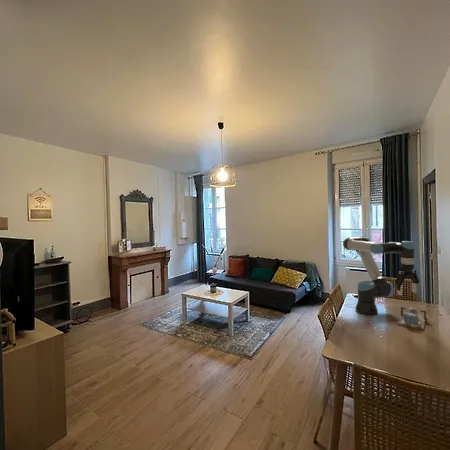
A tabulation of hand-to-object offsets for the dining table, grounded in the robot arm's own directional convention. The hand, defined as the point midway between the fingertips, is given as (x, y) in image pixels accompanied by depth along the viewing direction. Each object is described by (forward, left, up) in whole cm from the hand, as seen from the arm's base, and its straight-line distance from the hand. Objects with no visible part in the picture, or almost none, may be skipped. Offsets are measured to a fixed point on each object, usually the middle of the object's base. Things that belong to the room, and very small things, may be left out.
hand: (406, 293), depth 175 cm
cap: (+3, -4, -18) cm, 19 cm away
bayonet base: (+3, +4, -20) cm, 21 cm away
